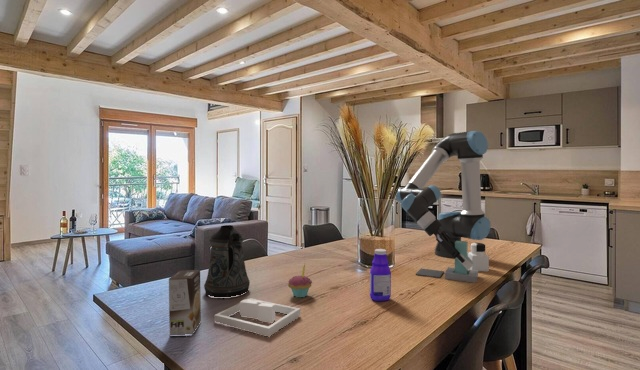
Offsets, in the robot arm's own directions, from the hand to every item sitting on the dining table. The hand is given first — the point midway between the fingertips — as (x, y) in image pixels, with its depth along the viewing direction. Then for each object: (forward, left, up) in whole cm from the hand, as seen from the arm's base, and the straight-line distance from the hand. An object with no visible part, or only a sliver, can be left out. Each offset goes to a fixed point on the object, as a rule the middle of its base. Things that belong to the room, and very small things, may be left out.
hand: (470, 266), depth 146 cm
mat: (-1, -17, -5) cm, 18 cm away
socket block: (-1, -4, -5) cm, 7 cm away
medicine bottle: (-18, +1, -6) cm, 19 cm away
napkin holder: (+73, -53, -6) cm, 90 cm away
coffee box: (+88, -67, -6) cm, 111 cm away
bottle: (+39, -26, -6) cm, 47 cm away
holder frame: (+73, -53, -5) cm, 90 cm away
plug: (0, -4, -5) cm, 6 cm away
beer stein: (+58, -78, -6) cm, 97 cm away
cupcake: (+49, -53, -6) cm, 72 cm away
